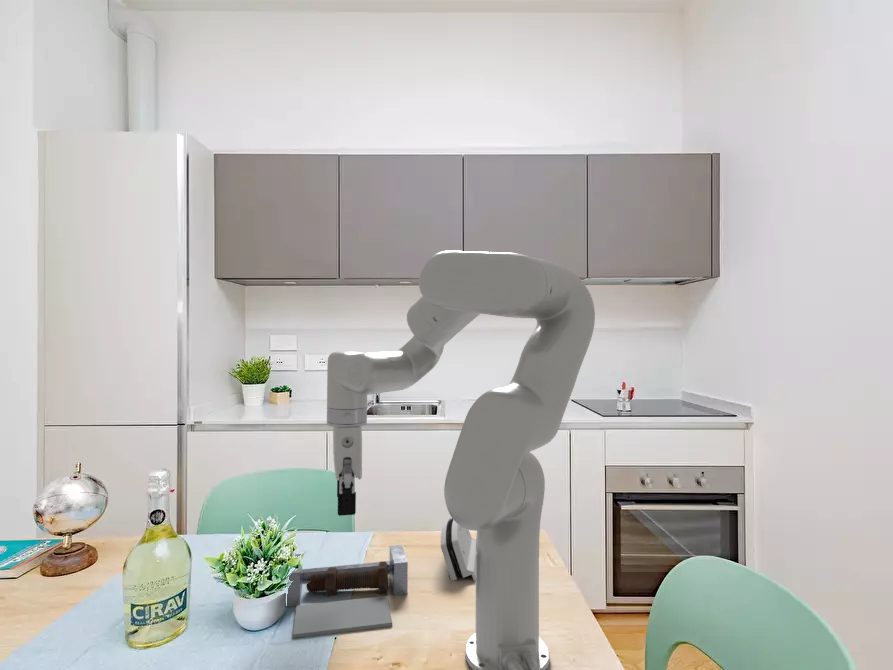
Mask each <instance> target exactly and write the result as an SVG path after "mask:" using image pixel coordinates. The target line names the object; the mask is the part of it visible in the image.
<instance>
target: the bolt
mask: <svg viewBox="0 0 893 670" xmlns="http://www.w3.org/2000/svg"><path fill="white" fill-rule="evenodd" d="M328 567H329V568H328V569H327V571H326V573H325V574H324V573H322V574H321V573H320V574H319V573H318V574H317V573H316V574H312V575H311V576H310V577H308V578H307V580H306V581H307V582H308V583H306V587H305V588H306V590H307V591H308V592H309V593H317V592H325V594H326V596H330V595H331V596H336V595H337V594H338V591H341V590H342V591H344V590H345V591H346V590H359V589H371V590H372V589H378V594H379V595H386V594H388V592H389V572H388V564H387V563H386V561H384V560H383V561H379V569H371V570H366V571H365V570H364V571H363V570H362V571H357V572H356V571H352V572H351V571H350V572H349V571H348V572H341V573H340V572H339V573H338V569H337V568H336V567H333V566H328Z"/></svg>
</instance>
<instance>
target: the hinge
mask: <svg viewBox="0 0 893 670" xmlns="http://www.w3.org/2000/svg"><path fill="white" fill-rule="evenodd" d="M440 532H441V533H440V549H441V552H442V556H443V559H444V561H445V565H446V568H447V571H448V572H447V573H448V574H449V578H450V580H451V581H457V580H458V578H459V576H460V577H462V578H463V579H464V578H466V577H469V576H471V577H472V579H473V582H476V538H473V537H472V535H471V532H470V530H468V529H465V528H463V527H461V526H460V525H459V524H457V523H456V522H455V521H454V520H453V518H452V517H451V518H449V519H447V520H445V521H444V522H443V524H442V526H441V531H440Z"/></svg>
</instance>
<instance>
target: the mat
mask: <svg viewBox="0 0 893 670" xmlns="http://www.w3.org/2000/svg"><path fill="white" fill-rule="evenodd" d="M295 607H296V608H295V617H294V624H293V629H292V639H296V638H304V637H305V638H306V637H313V636H315V637H316V636H320V635H321V636H322V635H329V634H338V633H339V634H340V633H347V632H354V631H362V630H363V631H364V630H371V629H380V628H388V627H393V619H392V618H393V617H392V615H391V610H390V605H389V600H388V596H387V595H382V596H373V597H364V598H363V597H362V598H354V599H347V600H346V599H343V600H336V601H326V602H317V603H309V604H300V605H297V606H295Z"/></svg>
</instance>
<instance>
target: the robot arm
mask: <svg viewBox="0 0 893 670" xmlns="http://www.w3.org/2000/svg"><path fill="white" fill-rule="evenodd" d="M418 286H419V291H420V293H421V295H422V296H421V297H420V298H419V299H418V300H417V301H416V302H414V304H412V306H411V307H409V309H408V311H407V313H406V322H407V323H406V324H407V325H408V327H409V329H410V332H411V333H412V334H413V336H412V338H411V339H409V340H408V341H407V342H406V343H405V344H404V345H403V346H402V347H400V348H399V349H398V350H396V351H395V350H391V351H390V350H389V351H388V350H387V351H373V352H361V351H354V350H353V351H349V350H347V351H346V350H345V351H343V350H342V351H334V352H332V353H330V354H329V355H328V357H327V366H326V368H327V374H326V375H327V379H326V380H327V381H326V385H327V386H326V425H327V426H328V427H332V442H333V443H332V451H333V467H334V476H335V479H336V481H337V482H336V483H337V484H336V485H337V486H336V497H337V516H340V517H342V516H353V515H354V516H355V515H356V510H357V509H356V508H357V506H356V504H357V503H356V502H357V500H356V498H357V492H356V491H355V489H356V486H355V484H356V483H355V482H356V481H355V478H356V479H358V480H362V478H363V433H362V432H363V431H362V427H363V426H365V425H367V422H368V395H377V394H384V393H389V392H397V391H403V390H406V389H408V388H410V387H412V386H413V385H415V384H417V382H420V380H422V378H424V377H425V376H426V375H427V374H429V373H430V372H431V371H432V370H433V369H434V368H435V367H436V365H437V364H438V363H439V361H440V359H441V356H442V355H443V352H444V347H445V345H446V344H447V343H448V342H450V341H451V340H452V339H453V338H454V337H455V336H456V335H458V334H459V333H460V332H461V331H462V330H464V329H465V328H466V326H468V325H469V324H470V323H472V321H474V320H475V319H476V318H477V317H479V316H480V315H481V314H482V315H489V316H496V317H497V316H498V317H505V318H515V319H517V318H518V319H519V318H520V319H535V320H536V325H535V329H534V330H533V332H532V333H531V335H530V336H529V338H528V340H527V341H526V343H525V345H524V346H523V348H522V351H521V354H520V356H519V360H518V364H517V366H516V369H515V371H514V374H513V376H512V379H511V380H510V382H509V383H508V384H507V385H505V386H500V387H496V388H492V389H489V390H487V391H486V392H483V393H482V394H481V395H480V396H479V397H478V398H477V399H475V401H474V402H473V403H472V405H471V406H470V408H469V410H468V412H467V414H466V415H465V419H464V422H463V424H462V427H461V430H460V432H459V436H458V439H457V442H456V445H455V447H454V452H453V454H452V456H451V460H450V463H449V466H448V469H447V472H446V476H445V481H444V485H443V486H444V488H443V489H444V490H443V492H444V493H443V495H444V504H445V506H446V509H447V512H448V514H449V515H450V517H451V518H453V520H454V521H455V522H456V523H457V524H459V525H460V526H461V527H463V528H465V529H468V530H469V531H474V532H475V531H476V536H475V537H476V538H475V539H476V581H475V633H474V634H472V635H471V636H470V637H469V638H468V640H467V641H466V644H465V647H464V648H465V649H464V650H465V651H464V652H465V653H464V654H465V659H466V662H467V664H468V665H469V667H470V668H471V669H472V670H547V669H548V668H549V664H550V651H549V648H548V646H547V644H546V643H545V642H544V641H543V639H541V637H540V628H539V627H540V533H541V532H540V531H541V519H542V511H543V505H544V499H545V489H546V480H545V474H544V471H543V467H542V465H541V463H540V461H539V460H538V458H537V457H536V456H535V455H534V454H533V453H532V452H533V451H535V450H537V449H539V448H542V447H544V446H545V445H547V444H549V443H550V442H551V441H553V439H554V438H555V437H556V436H557V434H558V431H559V428H560V426H561V423H562V420H563V417H564V415H565V413H566V410H567V406H568V404H569V401H570V398H571V395H572V393H573V392H574V391H573V390H574V389H575V388H574V387H575V385H576V381H577V378H578V375H579V373H580V370H581V367H582V364H583V362H584V359H585V356H586V355H587V352H588V349H589V347H590V343H591V340H592V337H593V334H594V329H595V324H596V323H595V320H596V313H595V305H594V301H593V298H592V294H591V293H590V291H589V289H588V287H587V285H586V284H585V283H584V282H583V281H582V279H581V278H580V277H579V276H578V275H577V274H576V273H574V272H573V271H572V270H570V269H569V268H567V267H566V266H564V265H562V264H560V263H556V262H553V261H552V260H551V261H550V260H547V259H543V258H538V257H534V256H530V255H526V254H523V253H522V254H521V253H515V252H498V251H497V252H496V251H495V252H494V251H493V252H492V251H490V252H489V251H467V250H466V251H463V250H449V249H448V250H443V251H440V252H438V253H435V254H434V255H433V256H431V257H430V258H429V259H428V260H426V262H425V263H424V265H423V267H422V269H421V271H420V272H419V278H418Z"/></svg>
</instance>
